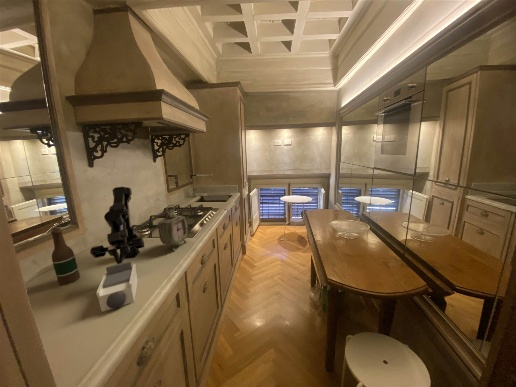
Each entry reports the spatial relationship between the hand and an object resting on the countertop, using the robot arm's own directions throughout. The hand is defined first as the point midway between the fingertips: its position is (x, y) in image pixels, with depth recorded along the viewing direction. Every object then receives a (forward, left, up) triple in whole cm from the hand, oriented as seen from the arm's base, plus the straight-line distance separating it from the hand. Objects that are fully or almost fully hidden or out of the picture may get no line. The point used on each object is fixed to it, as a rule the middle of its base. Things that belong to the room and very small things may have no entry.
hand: (119, 266), depth 87 cm
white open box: (+2, -6, -9) cm, 11 cm away
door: (+2, -4, -3) cm, 5 cm away
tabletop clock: (+11, +34, -9) cm, 37 cm away
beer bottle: (-28, +8, -9) cm, 31 cm away
